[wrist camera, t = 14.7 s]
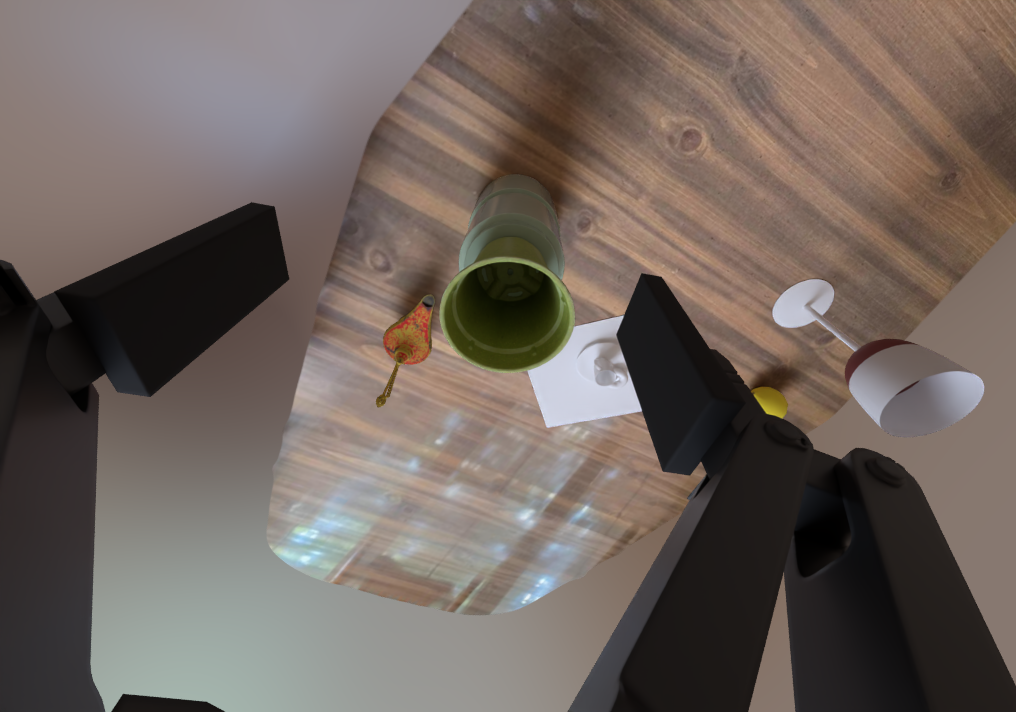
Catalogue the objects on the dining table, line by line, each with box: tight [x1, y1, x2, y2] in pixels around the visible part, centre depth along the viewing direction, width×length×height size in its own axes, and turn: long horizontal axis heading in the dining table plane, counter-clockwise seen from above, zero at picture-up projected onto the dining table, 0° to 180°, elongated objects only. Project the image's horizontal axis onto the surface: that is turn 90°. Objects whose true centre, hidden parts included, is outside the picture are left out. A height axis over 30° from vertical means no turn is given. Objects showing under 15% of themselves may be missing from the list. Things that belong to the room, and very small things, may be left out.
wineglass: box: [773, 279, 984, 437], centre depth 43 cm, size 8×9×20 cm
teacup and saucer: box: [575, 341, 630, 390], centre depth 57 cm, size 9×8×4 cm
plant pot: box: [439, 237, 575, 373], centre depth 29 cm, size 9×9×9 cm
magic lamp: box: [376, 294, 435, 407], centre depth 51 cm, size 7×18×11 cm, turn 151°
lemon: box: [751, 387, 788, 418], centre depth 59 cm, size 7×5×5 cm
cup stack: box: [459, 174, 565, 296], centre depth 39 cm, size 10×10×16 cm
